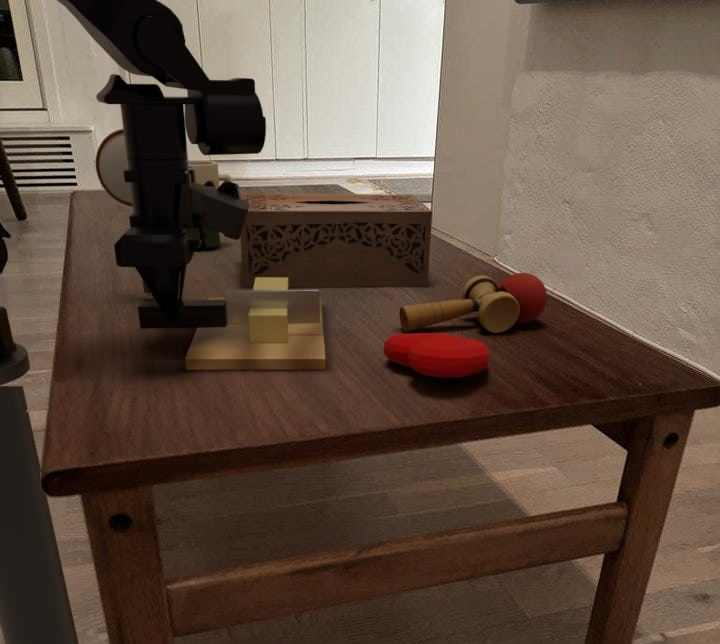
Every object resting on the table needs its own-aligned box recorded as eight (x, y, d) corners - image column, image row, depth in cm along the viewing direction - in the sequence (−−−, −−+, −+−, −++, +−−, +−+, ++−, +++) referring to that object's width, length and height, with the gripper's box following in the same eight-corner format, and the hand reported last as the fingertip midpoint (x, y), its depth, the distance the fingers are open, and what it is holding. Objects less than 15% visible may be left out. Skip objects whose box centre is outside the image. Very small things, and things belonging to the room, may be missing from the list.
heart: (458, 364, 82) (375, 365, 78) (462, 325, 80) (378, 324, 77) (518, 386, 71) (426, 388, 67) (524, 342, 70) (430, 341, 66)
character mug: (169, 253, 118) (160, 165, 111) (166, 243, 124) (158, 160, 117) (237, 250, 120) (232, 164, 114) (231, 241, 126) (226, 159, 120)
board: (185, 370, 74) (184, 358, 73) (209, 306, 93) (209, 297, 92) (325, 369, 75) (325, 358, 74) (320, 307, 94) (320, 297, 93)
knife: (140, 328, 78) (135, 295, 76) (144, 322, 80) (139, 289, 78) (320, 325, 79) (319, 292, 77) (319, 319, 81) (319, 287, 79)
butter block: (253, 318, 85) (252, 292, 84) (256, 301, 91) (255, 277, 90) (288, 318, 85) (287, 293, 84) (288, 301, 91) (288, 277, 90)
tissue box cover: (243, 287, 101) (239, 211, 96) (244, 262, 113) (240, 193, 108) (427, 285, 104) (432, 211, 99) (408, 261, 117) (412, 194, 112)
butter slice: (249, 342, 78) (248, 315, 76) (251, 335, 80) (249, 308, 78) (287, 342, 78) (287, 315, 77) (288, 335, 80) (287, 308, 79)
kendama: (419, 355, 83) (562, 322, 86) (411, 298, 81) (558, 267, 84) (397, 344, 90) (530, 314, 94) (389, 292, 88) (526, 263, 91)
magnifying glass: (184, 297, 96) (167, 128, 86) (183, 300, 95) (166, 129, 85) (115, 298, 95) (91, 127, 85) (114, 302, 94) (89, 128, 84)
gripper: (234, 171, 63) (243, 345, 71) (248, 148, 79) (254, 292, 87) (101, 168, 62) (126, 345, 70) (143, 146, 79) (159, 291, 86)
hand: (173, 315), depth 79 cm, fingers closed on knife, 2 cm apart
